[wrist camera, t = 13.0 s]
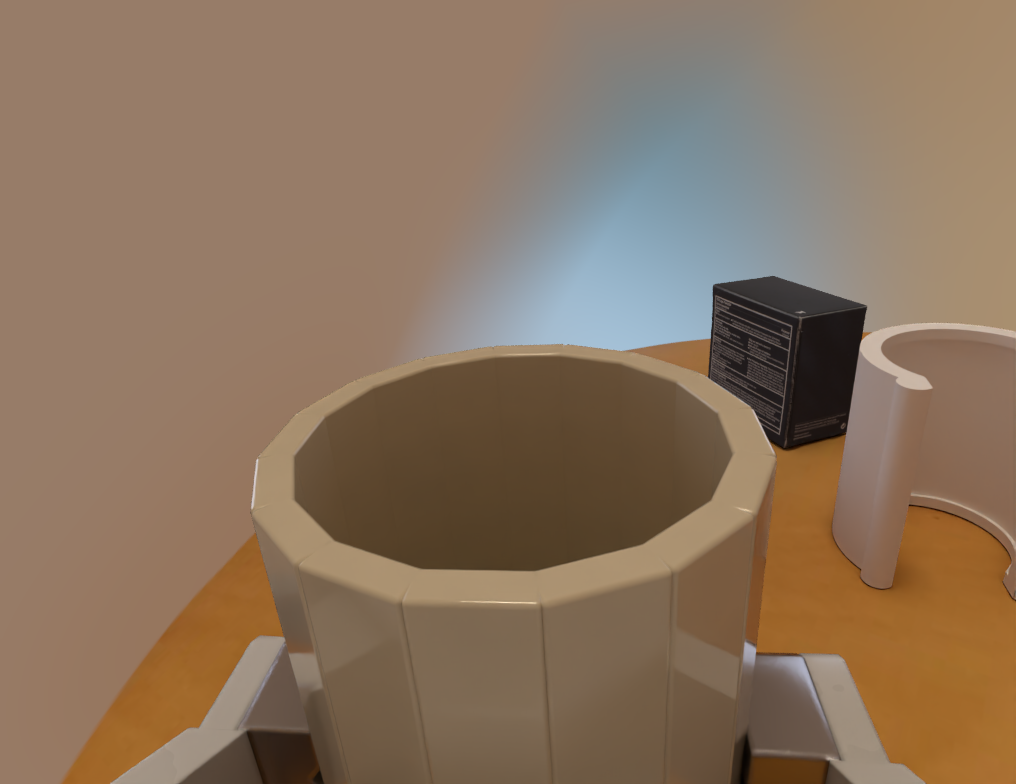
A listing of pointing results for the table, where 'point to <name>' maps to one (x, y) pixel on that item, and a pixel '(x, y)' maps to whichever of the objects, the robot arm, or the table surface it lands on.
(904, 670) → the table surface
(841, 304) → the small box
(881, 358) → the bracket
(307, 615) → the cup
